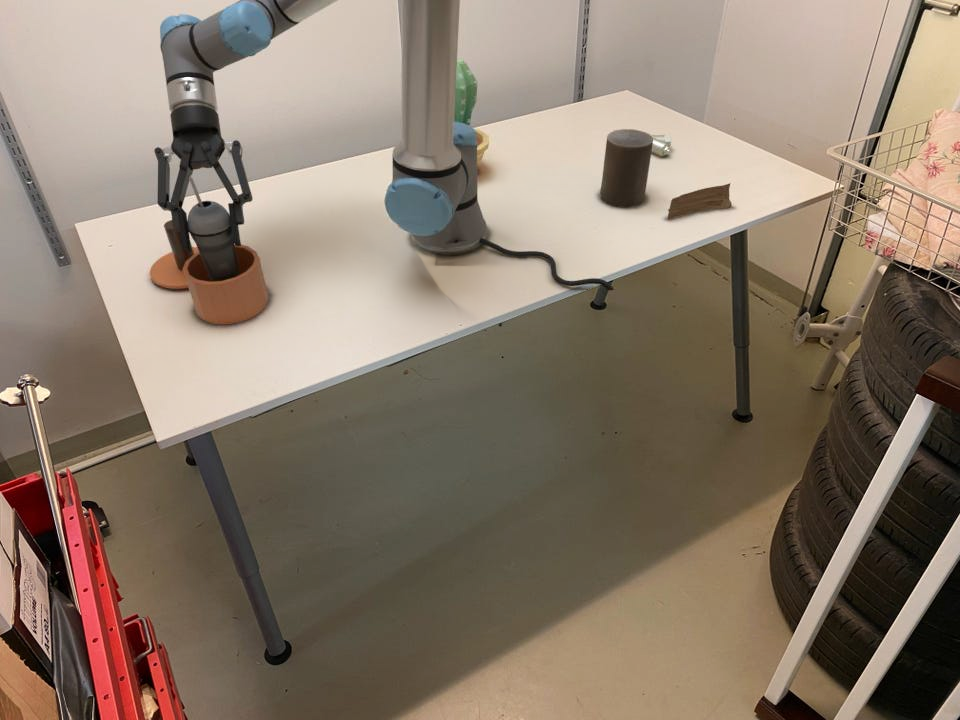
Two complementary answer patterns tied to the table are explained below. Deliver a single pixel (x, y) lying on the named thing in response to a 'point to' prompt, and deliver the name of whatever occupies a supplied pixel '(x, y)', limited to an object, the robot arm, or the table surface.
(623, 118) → the table surface
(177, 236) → the lid
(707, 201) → the wood plank
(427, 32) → the robot arm
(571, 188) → the table surface
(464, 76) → the potted cactus
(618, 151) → the pillar candle
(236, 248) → the canister
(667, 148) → the pipe fitting
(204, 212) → the beverage cup
